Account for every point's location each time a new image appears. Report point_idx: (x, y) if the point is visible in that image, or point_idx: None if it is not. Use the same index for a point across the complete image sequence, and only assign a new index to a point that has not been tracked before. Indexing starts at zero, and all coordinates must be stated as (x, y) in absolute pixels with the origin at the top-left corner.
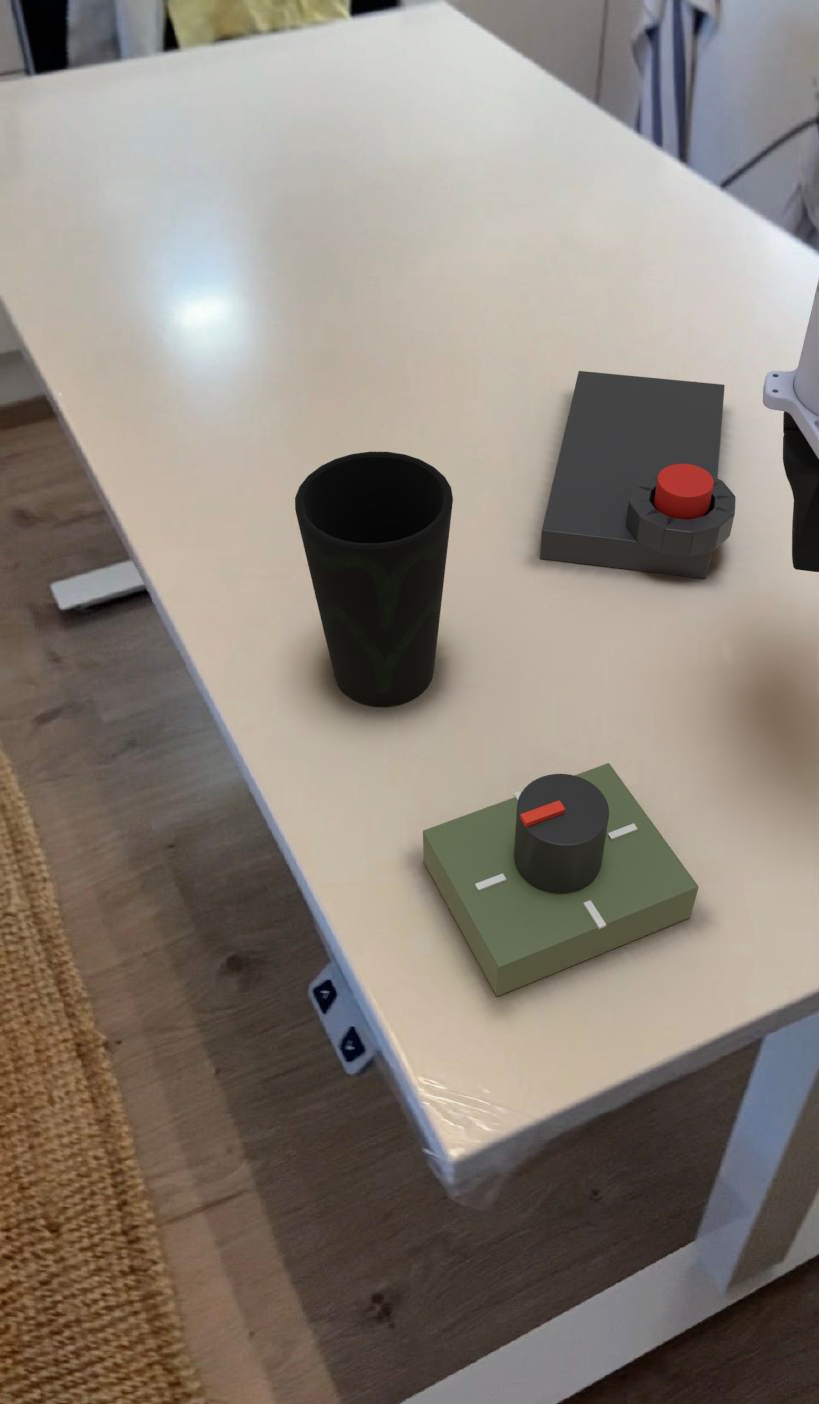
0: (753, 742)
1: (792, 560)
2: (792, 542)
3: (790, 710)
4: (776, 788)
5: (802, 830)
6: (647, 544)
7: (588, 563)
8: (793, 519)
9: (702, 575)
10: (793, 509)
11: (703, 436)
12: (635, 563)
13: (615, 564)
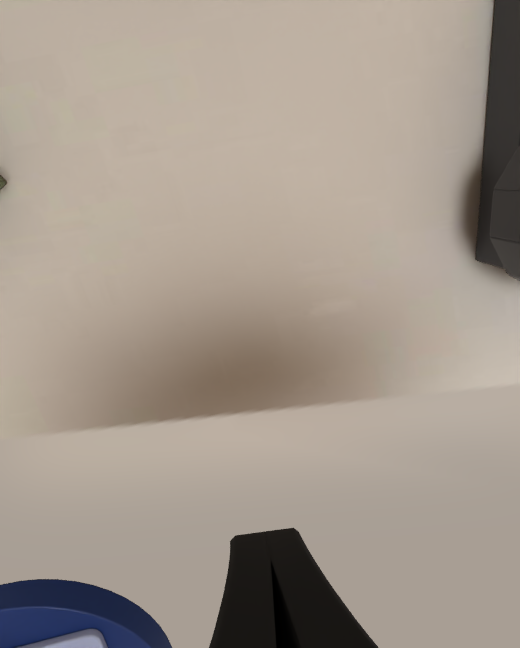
0: (175, 359)
1: (234, 547)
2: (228, 588)
3: (244, 394)
4: (107, 394)
5: (51, 428)
6: (510, 164)
7: (490, 69)
8: (271, 622)
9: (478, 255)
10: (324, 610)
11: None
12: (491, 149)
13: (489, 116)
